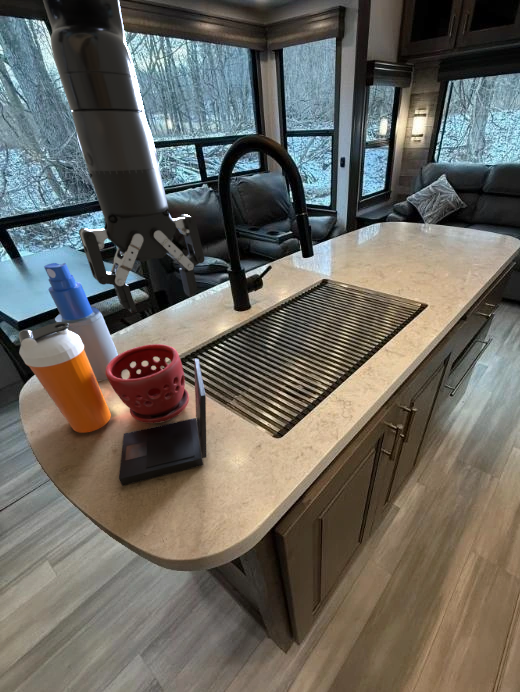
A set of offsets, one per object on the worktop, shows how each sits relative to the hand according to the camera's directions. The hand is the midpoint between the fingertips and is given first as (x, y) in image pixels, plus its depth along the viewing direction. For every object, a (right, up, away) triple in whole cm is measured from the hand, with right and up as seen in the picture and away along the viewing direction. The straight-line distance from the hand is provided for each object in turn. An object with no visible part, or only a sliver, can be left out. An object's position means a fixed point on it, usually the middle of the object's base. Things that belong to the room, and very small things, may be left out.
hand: (162, 302), depth 48 cm
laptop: (-5, -24, +12) cm, 27 cm away
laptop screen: (+2, -15, +8) cm, 18 cm away
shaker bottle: (-22, -18, +19) cm, 34 cm away
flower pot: (-9, -16, +21) cm, 28 cm away
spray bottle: (-28, -7, +33) cm, 44 cm away
